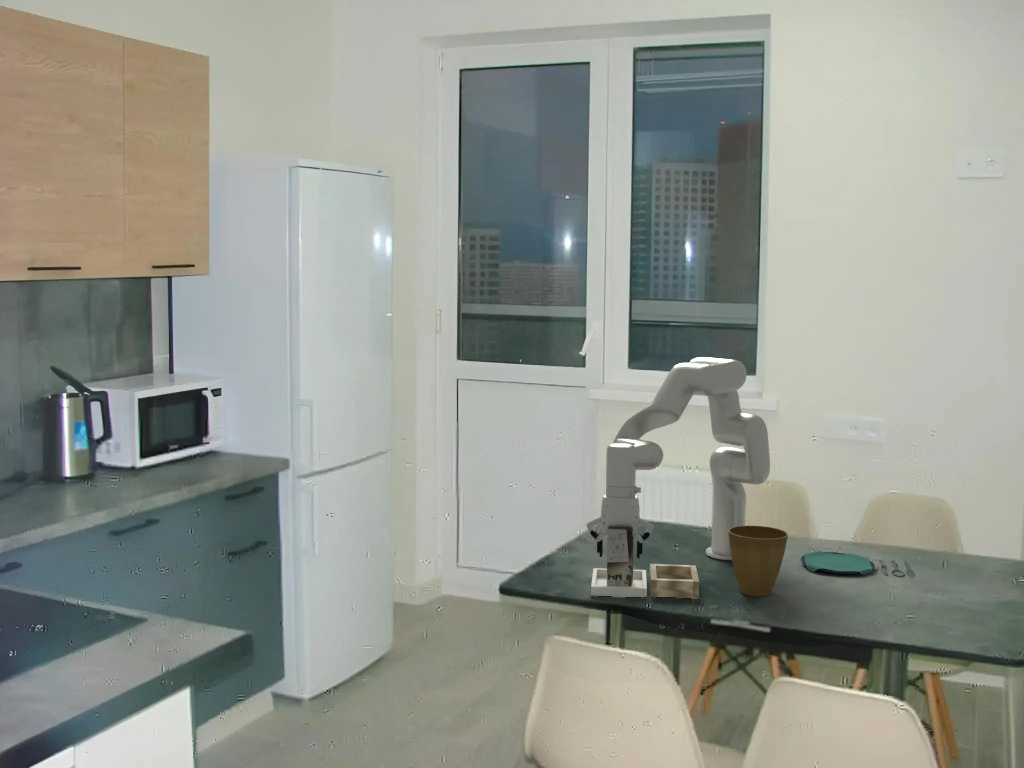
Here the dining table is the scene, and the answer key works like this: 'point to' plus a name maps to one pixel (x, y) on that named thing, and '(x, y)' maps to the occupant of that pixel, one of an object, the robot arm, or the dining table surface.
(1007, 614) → the dining table surface
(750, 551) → the plant pot
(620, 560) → the coffee box
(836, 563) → the cutlery set
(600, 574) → the tray
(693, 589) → the holder
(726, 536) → the robot arm
